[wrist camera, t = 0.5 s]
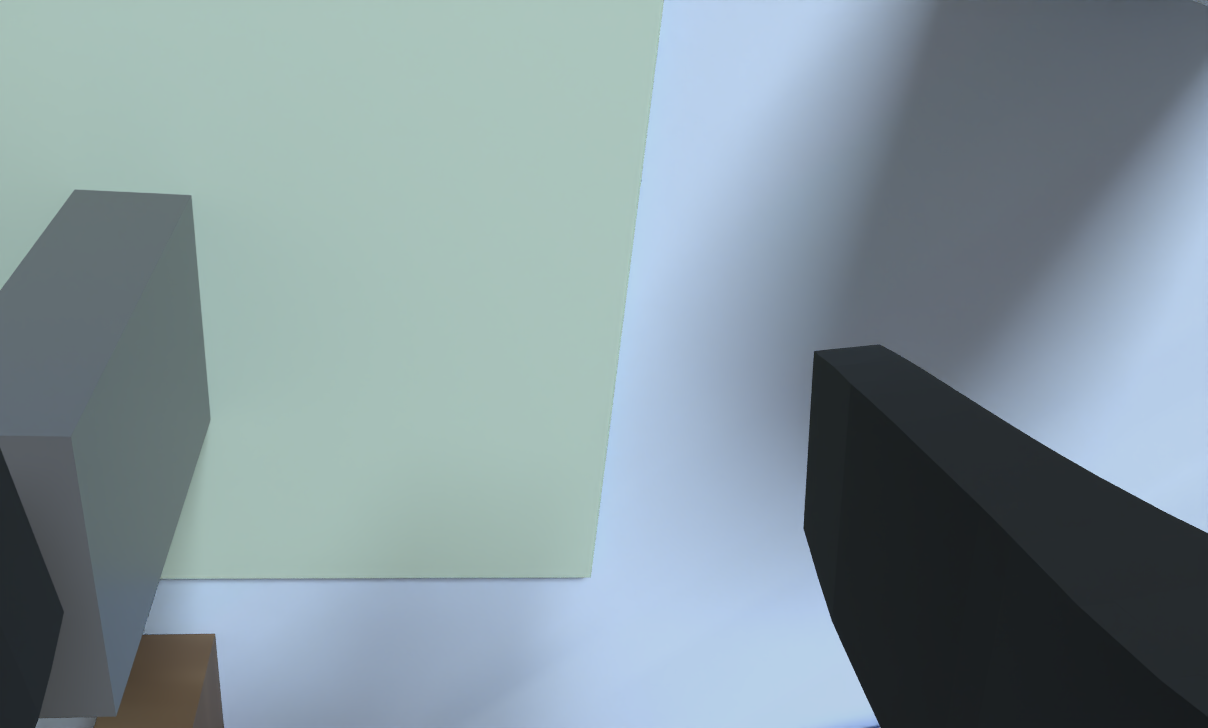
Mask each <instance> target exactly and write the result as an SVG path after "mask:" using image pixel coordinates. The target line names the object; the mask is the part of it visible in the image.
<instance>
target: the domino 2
mask: <svg viewBox="0 0 1208 728" xmlns="http://www.w3.org/2000/svg"><path fill="white" fill-rule="evenodd" d="M94 728H224V724H223V713H222V702H221V692H220V681H219V671H218V660H217V649H216V639H215V634H167V635H142V637H141V640H140V643H139V646H138V650H137V653H136V656H135V659H134V662H133V665H132V668H131V672H130V675H129V678H128V681H127V684H126V687H125V690H124V694H123V697H122V700H121V703H120V706H119V709H118V712H117V715H116V717H97V719H96V722H95V725H94Z"/></svg>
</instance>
